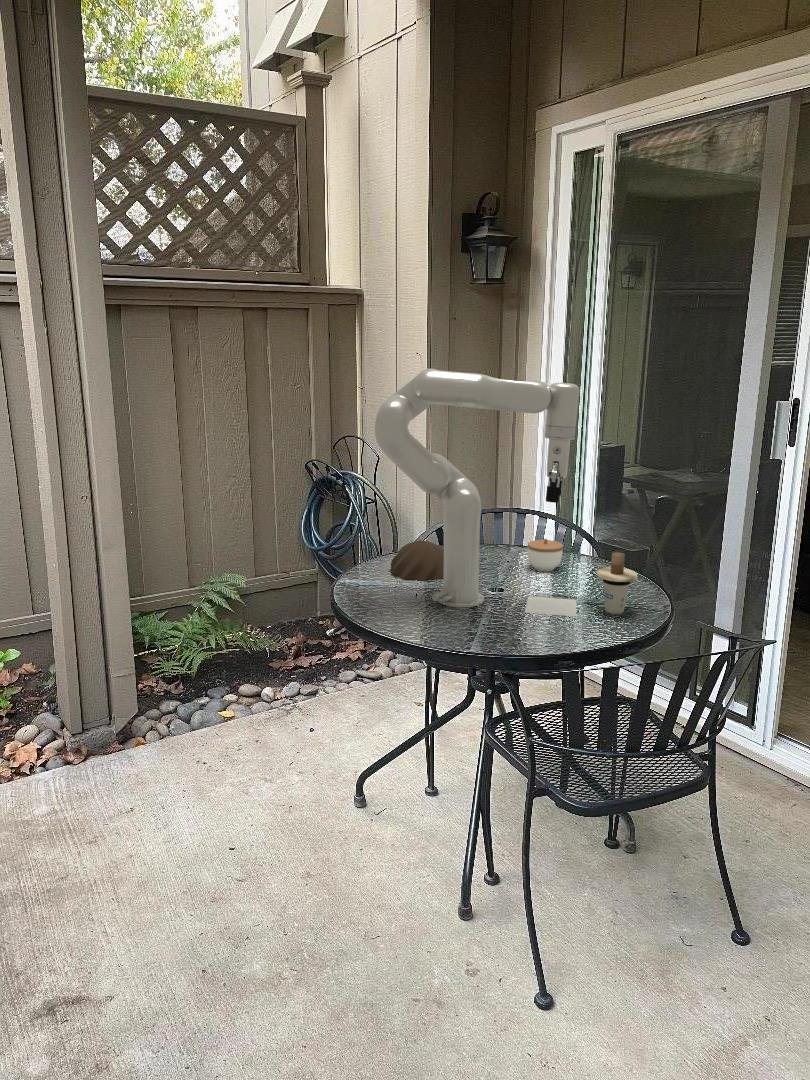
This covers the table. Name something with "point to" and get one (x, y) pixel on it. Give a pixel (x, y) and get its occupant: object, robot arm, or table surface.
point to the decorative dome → (419, 561)
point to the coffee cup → (615, 596)
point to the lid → (617, 570)
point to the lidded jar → (545, 554)
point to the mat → (551, 606)
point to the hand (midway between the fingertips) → (553, 498)
